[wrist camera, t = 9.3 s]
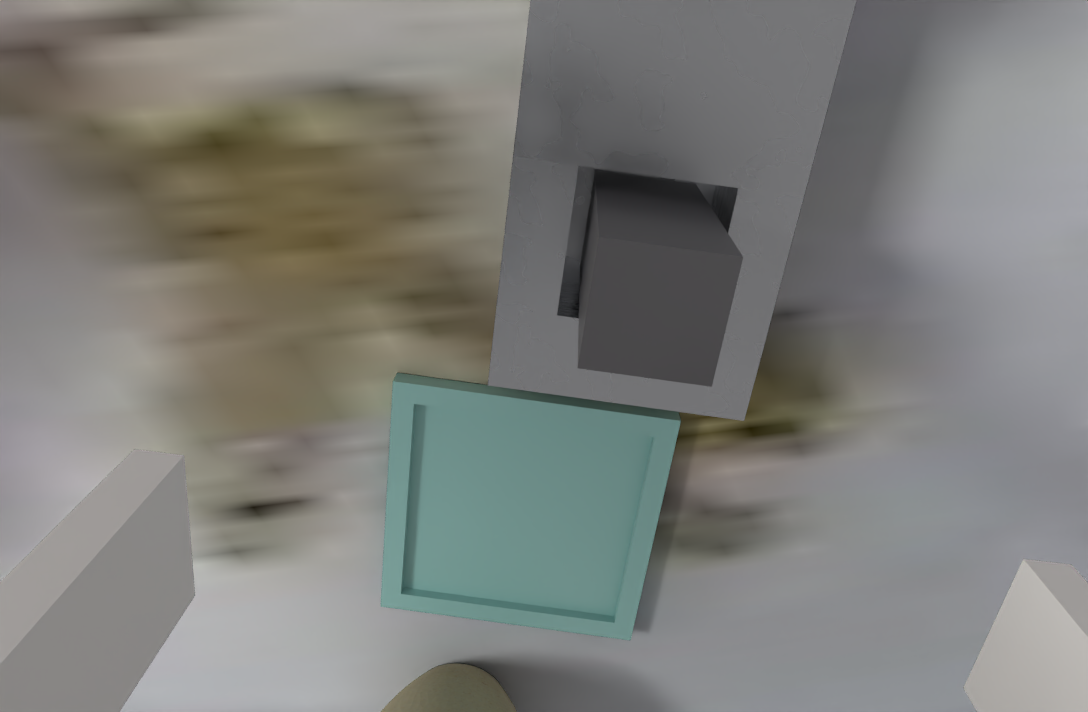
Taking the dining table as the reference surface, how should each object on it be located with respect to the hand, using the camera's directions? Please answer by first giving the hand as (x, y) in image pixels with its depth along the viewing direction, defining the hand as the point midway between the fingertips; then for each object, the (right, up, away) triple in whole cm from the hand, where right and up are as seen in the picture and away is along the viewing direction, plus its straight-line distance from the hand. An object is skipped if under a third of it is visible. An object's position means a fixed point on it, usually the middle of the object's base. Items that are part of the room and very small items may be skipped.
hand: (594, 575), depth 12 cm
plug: (+3, +9, +19) cm, 21 cm away
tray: (-2, -4, +26) cm, 26 cm away
